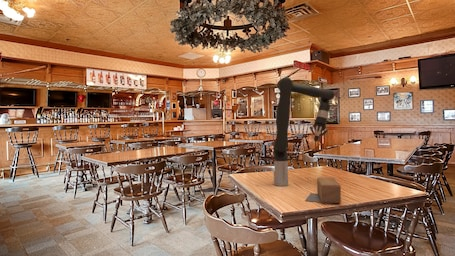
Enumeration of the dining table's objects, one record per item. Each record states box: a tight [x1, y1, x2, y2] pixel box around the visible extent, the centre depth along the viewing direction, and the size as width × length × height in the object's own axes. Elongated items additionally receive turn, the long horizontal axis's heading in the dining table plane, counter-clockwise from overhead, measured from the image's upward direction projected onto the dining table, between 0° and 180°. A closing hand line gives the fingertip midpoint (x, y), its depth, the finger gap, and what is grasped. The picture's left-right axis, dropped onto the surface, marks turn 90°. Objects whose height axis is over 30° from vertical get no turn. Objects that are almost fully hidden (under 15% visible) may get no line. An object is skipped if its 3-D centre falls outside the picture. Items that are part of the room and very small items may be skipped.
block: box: [316, 176, 342, 204], centre depth 152 cm, size 10×10×20 cm
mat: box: [304, 192, 333, 205], centre depth 154 cm, size 14×17×1 cm
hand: (315, 141), depth 185 cm, fingers closed
